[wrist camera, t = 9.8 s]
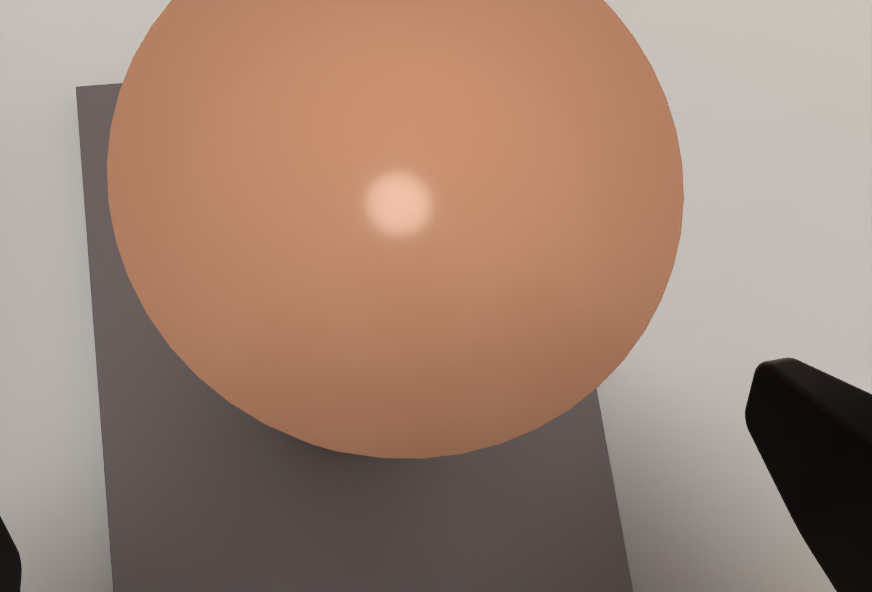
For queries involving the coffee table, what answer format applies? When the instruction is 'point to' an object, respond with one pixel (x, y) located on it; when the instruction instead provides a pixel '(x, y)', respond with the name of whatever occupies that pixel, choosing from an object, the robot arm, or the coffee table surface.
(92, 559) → the coffee table surface
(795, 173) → the coffee table surface
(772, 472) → the robot arm
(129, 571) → the mat
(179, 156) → the tan cylinder
